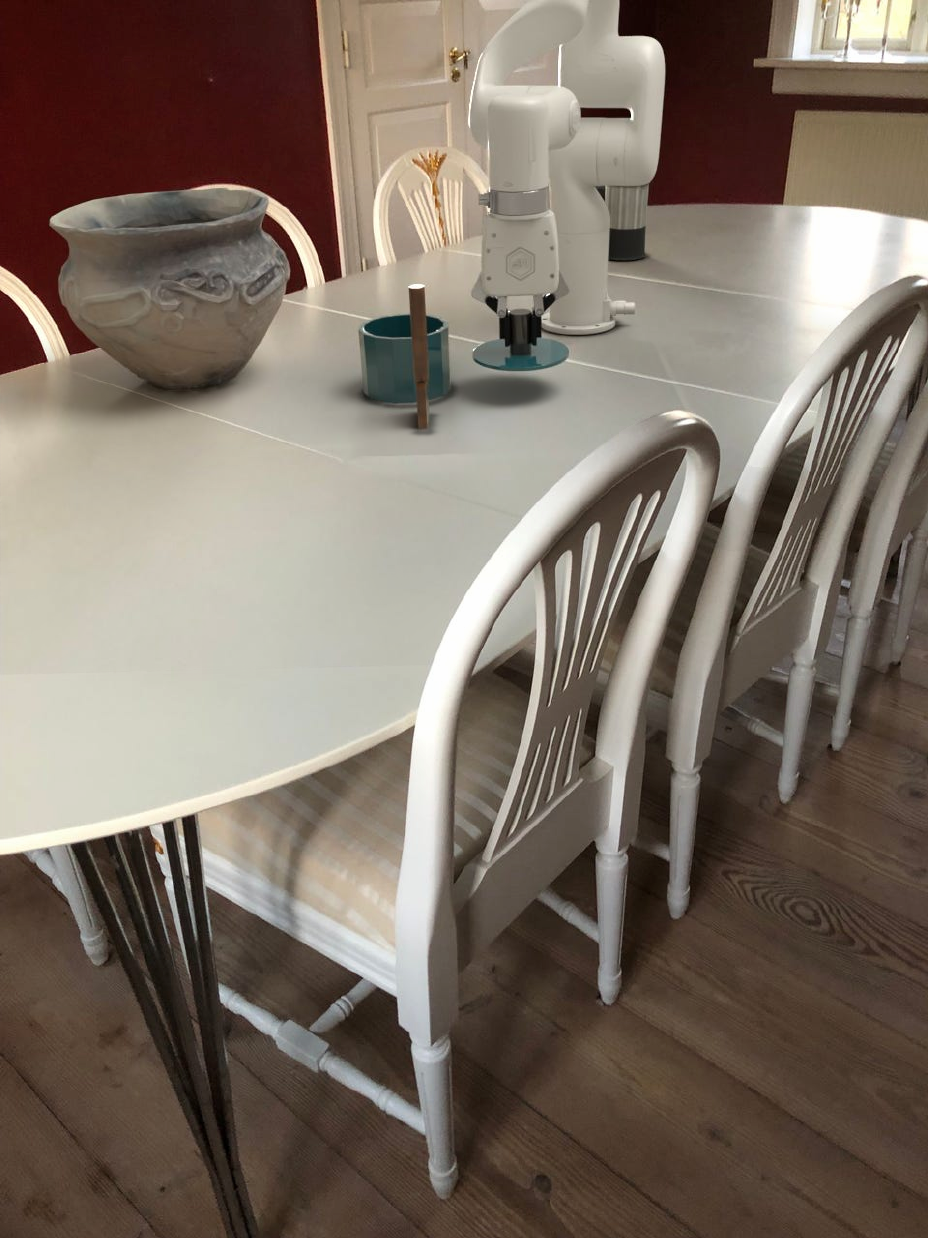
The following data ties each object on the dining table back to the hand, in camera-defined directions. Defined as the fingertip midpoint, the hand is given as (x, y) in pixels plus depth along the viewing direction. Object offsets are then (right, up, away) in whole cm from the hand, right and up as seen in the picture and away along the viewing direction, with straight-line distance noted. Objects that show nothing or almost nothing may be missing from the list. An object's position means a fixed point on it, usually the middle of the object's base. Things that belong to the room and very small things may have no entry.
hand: (520, 341), depth 142 cm
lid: (0, -2, +1) cm, 2 cm away
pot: (-16, -5, +6) cm, 18 cm away
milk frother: (+22, +37, +73) cm, 85 cm away
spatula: (-13, -12, -5) cm, 19 cm away
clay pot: (-49, -2, +15) cm, 51 cm away
